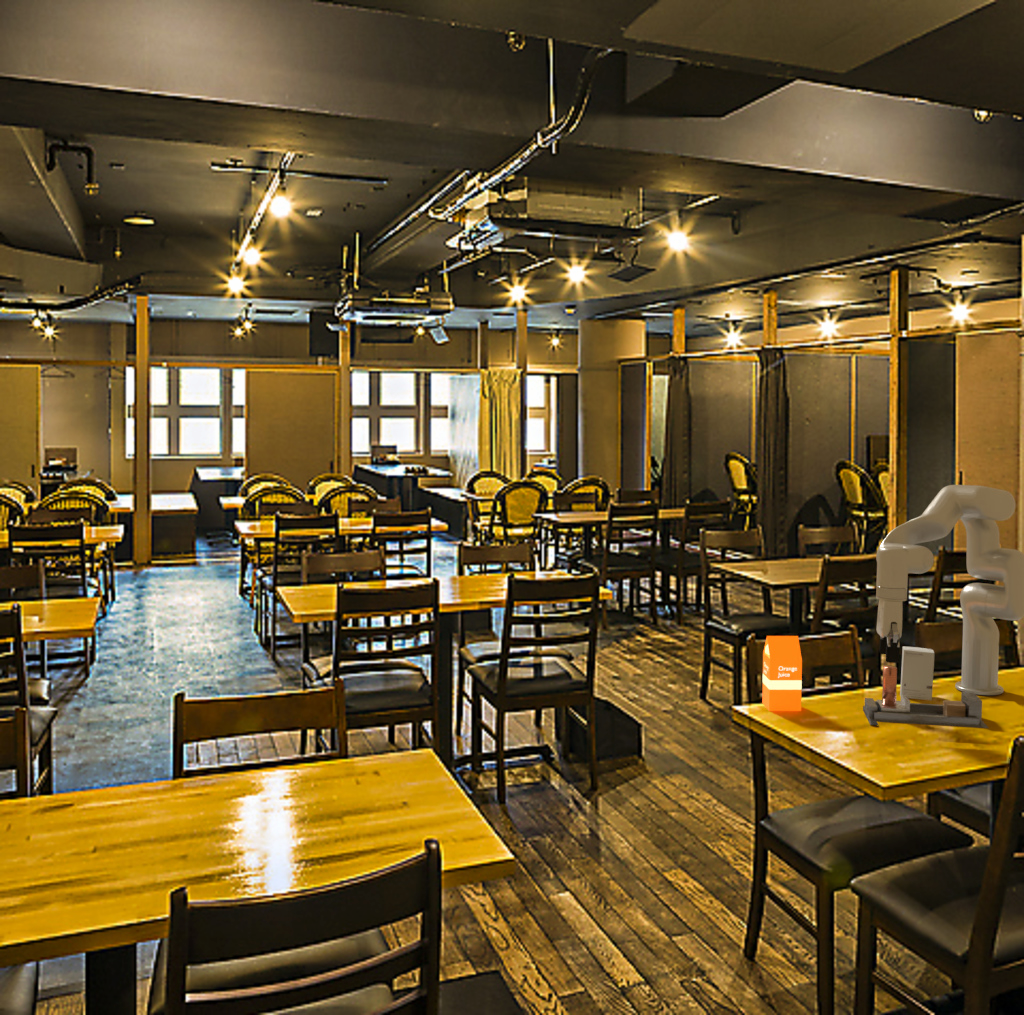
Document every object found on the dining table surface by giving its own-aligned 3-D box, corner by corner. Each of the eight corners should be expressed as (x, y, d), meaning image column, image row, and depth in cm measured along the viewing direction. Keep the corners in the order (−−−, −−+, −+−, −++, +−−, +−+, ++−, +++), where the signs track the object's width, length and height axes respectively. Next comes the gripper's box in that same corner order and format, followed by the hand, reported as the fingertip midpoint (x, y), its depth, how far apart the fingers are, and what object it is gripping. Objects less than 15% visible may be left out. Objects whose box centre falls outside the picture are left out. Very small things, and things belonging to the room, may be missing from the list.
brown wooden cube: (942, 715, 243) (943, 700, 243) (960, 716, 242) (961, 701, 242) (946, 720, 239) (947, 705, 238) (965, 721, 238) (965, 706, 237)
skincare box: (900, 701, 260) (902, 649, 259) (899, 696, 265) (901, 645, 264) (933, 704, 257) (934, 652, 256) (931, 698, 262) (933, 647, 261)
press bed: (862, 710, 252) (863, 684, 252) (974, 716, 246) (975, 689, 245) (870, 725, 239) (871, 698, 238) (988, 732, 232) (989, 704, 232)
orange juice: (801, 711, 252) (802, 638, 250) (769, 711, 252) (770, 639, 250) (793, 703, 259) (794, 632, 258) (761, 703, 260) (762, 632, 258)
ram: (876, 708, 248) (877, 663, 247) (904, 710, 247) (905, 664, 246) (881, 717, 241) (882, 670, 240) (909, 718, 239) (911, 671, 238)
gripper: (871, 588, 251) (869, 650, 252) (881, 598, 234) (879, 664, 235) (900, 589, 249) (898, 652, 250) (913, 599, 232) (910, 666, 233)
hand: (889, 658), depth 243 cm, fingers open, 9 cm apart
